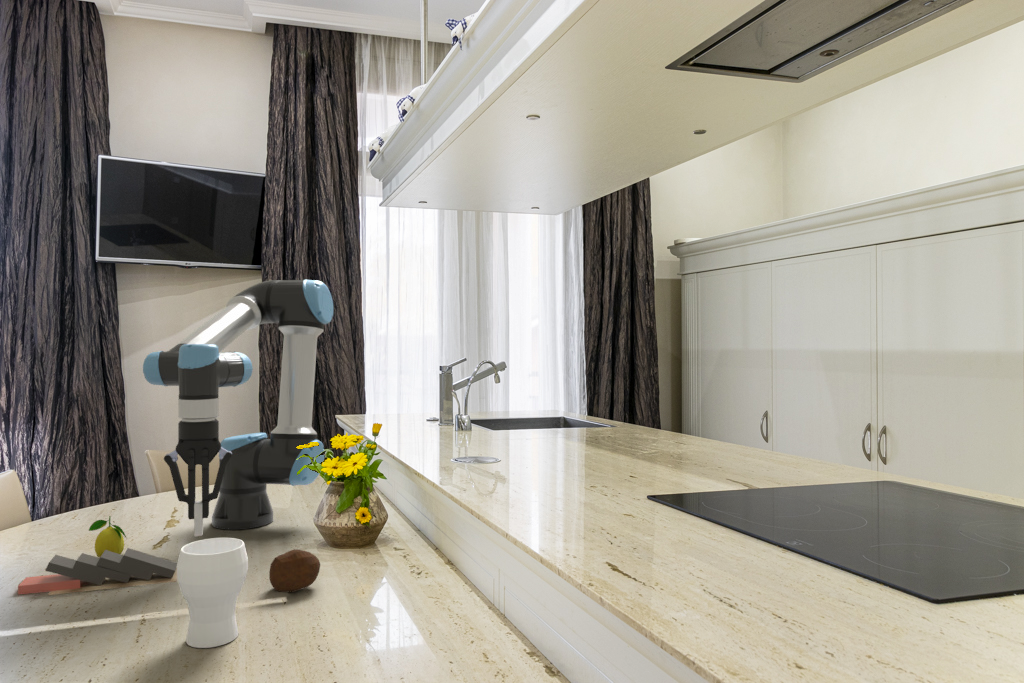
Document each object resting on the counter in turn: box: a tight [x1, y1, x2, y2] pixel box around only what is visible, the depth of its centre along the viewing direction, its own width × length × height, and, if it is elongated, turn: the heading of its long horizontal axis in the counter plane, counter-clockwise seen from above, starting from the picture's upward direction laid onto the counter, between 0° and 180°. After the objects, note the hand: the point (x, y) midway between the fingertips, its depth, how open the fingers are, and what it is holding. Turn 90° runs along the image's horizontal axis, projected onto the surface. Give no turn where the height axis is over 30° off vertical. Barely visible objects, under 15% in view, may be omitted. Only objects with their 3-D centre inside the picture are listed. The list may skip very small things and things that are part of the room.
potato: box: [268, 548, 321, 594], centre depth 135 cm, size 7×10×8 cm
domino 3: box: [73, 552, 131, 583], centre depth 137 cm, size 2×5×10 cm
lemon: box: [88, 515, 127, 558], centre depth 151 cm, size 7×6×10 cm
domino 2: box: [44, 554, 106, 585], centre depth 135 cm, size 2×5×10 cm
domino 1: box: [17, 573, 85, 596], centre depth 134 cm, size 2×5×10 cm
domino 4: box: [97, 550, 153, 581], centre depth 138 cm, size 2×5×10 cm
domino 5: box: [120, 547, 177, 578], centre depth 139 cm, size 2×5×10 cm
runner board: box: [47, 567, 178, 596], centre depth 138 cm, size 26×9×1 cm, turn 111°
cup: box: [176, 537, 249, 649], centre depth 113 cm, size 11×11×15 cm
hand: (198, 534), depth 143 cm, fingers closed
